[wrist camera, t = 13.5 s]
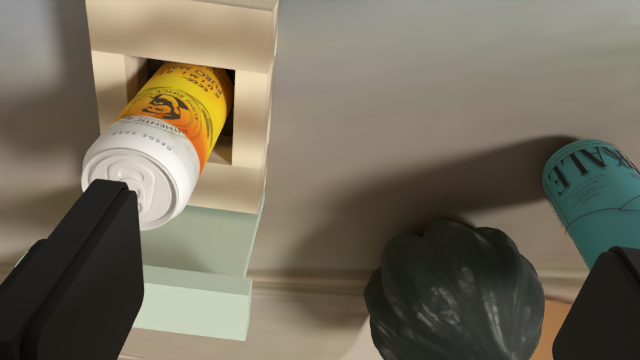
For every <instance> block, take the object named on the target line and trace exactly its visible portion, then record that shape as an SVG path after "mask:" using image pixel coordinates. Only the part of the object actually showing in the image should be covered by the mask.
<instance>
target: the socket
mask: <svg viewBox="0 0 640 360" xmlns="http://www.w3.org/2000/svg"><path fill="white" fill-rule="evenodd" d="M85 1H86V10H87V19H88V27H89V36H90V45H91V54H92V63H93V72H94V81H95V90H96V99H97V108H98V117H99V126H100V135H101V134H102V133H103V132H104V131H105V130H106V129H107V127H108V126H109V125H110V124H111V123H112V122H113V121H114V120H115V118H116V117H117V116H118V115H119V114H120V113H121V112H122V110H123V109H124V108H125V107H126V106H127V105H128V104H129V102H130V101H131V100H132V99H133V98H134V97H135V96H136V95H137V93H138V92H139V91H140V90H141V89H142V88H143V87H144V85H145V84H146V83H147V82H148V68H147V58H152V59H159V60H166V61H174V62H181V63H189V64H196V65H204V66H211V67H218V68H226V69H233V70H235V96H234V123H233V137H230V136H223V135H219V136H218V138H217V141H216V143H215V145H214V147H213V149H212V151H211V153H210V156H209V158H208V160H207V162H206V164H205V166H204V168H203V171H202V173H201V175H200V177H199V179H198V181H197V183H196V186H195V188H194V190H193V192H192V194H191V196H190V198H189V201H188V203H187V205H191V206H199V207H206V208H214V209H222V210H230V211H237V212H245V213H253V214H258V211H259V207H260V203H261V199H262V195H263V192H264V188H265V184H266V171H267V158H268V146H269V133H270V120H271V108H272V95H273V82H274V70H275V57H276V44H277V32H278V19H279V6H280V0H85Z"/></svg>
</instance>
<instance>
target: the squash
mask: <svg viewBox="0 0 640 360" xmlns="http://www.w3.org/2000/svg"><path fill="white" fill-rule="evenodd" d="M364 297H365V301H366V305H367V309H368V312H369V314H370V321H369V322H370V328H371V336H372V339H373V343H374V345H375V347H376V348H377V350H378V351H379V353H380V355H381V356H382V357H383V359H384V360H529V359H530V358H531V356H532V354H533V353H534V351H535V349H536V347H537V345H538V343H539V339H540V336H541V329H542V322H543V317H544V306H545V301H544V291H543V288H542V285H541V282H540V280H539V277H538V275H537V272H536V270H535V269H534V267H533V265H532V264H531V263H530V262H529V261H528V260H527V259H526V258H525V257H524V256H523V255H521V254H520V253H519V251H518V249H517V246H516V245H515V243H514V242H513V240H512V239H511V238H509V237H508V236H507V235H506V234H505V233H504V232H503V231H501V230H499V229H495V228H489V227H478V228H473V229H470V228H468V227H466V226H465V225H462V224H460V223H458V222H454V221H451V220H445V219H437V220H434V221H433V222H431V223H430V224H429V225H428V226H427V228H426V229H425V231H424V234H423V237H420V236H417V235H415V234H410V233H401V234H398V235H396V236H394V237H393V238H392V239H391V240H390V241H389V242H388V243H387V245H386V247H385V250H384V253H383V259H382V265H381V267H379V268H378V269H377V270H375V271H374V272H373V274H372V276H371V278H370V281H369V282H368V284H367V286H366V287H365V290H364Z"/></svg>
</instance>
